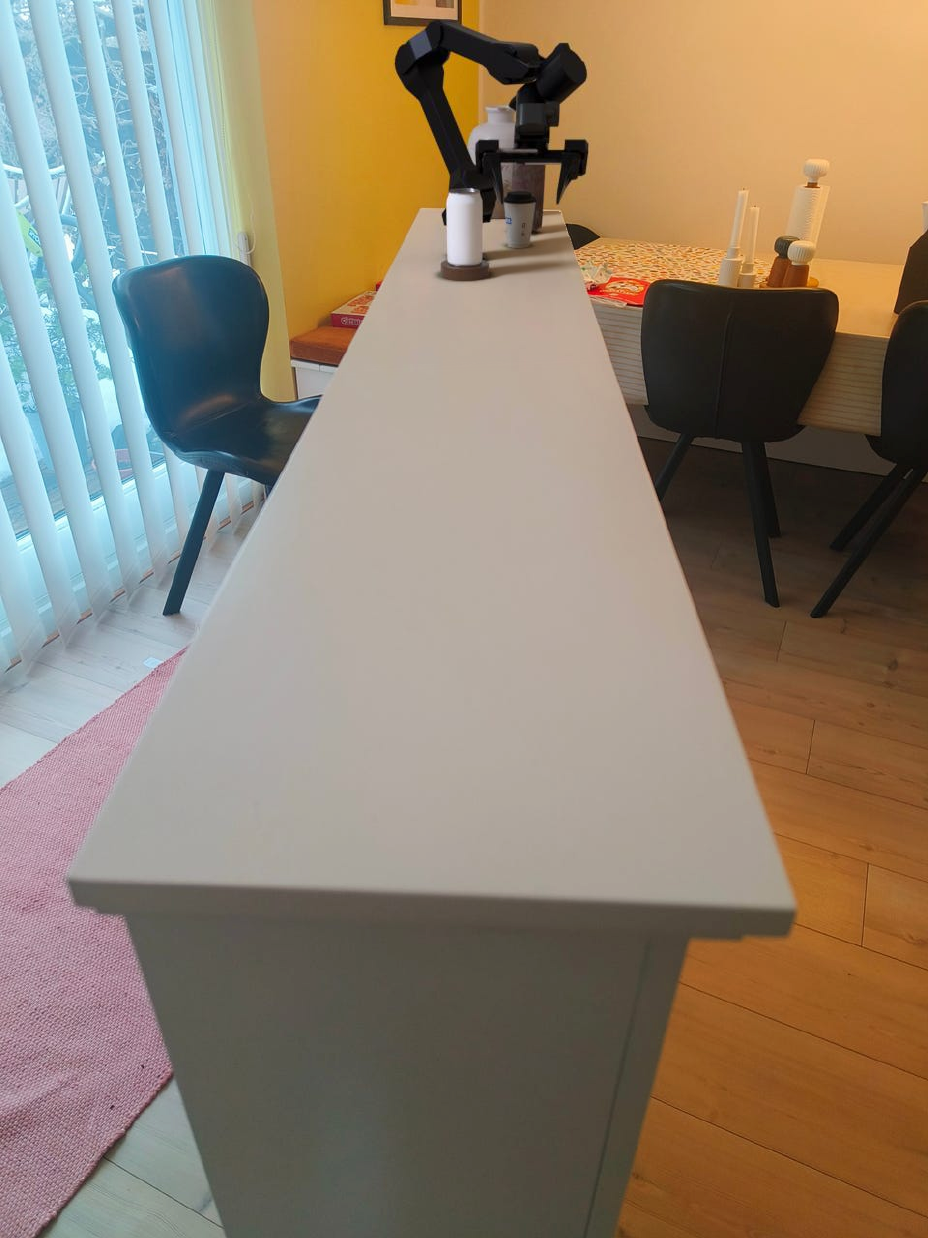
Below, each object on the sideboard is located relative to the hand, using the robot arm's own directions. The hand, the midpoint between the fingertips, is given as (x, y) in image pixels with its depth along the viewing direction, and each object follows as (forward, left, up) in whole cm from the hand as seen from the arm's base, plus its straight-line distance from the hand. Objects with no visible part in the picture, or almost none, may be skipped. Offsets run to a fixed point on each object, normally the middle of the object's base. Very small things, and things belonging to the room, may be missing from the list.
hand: (529, 202), depth 136 cm
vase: (-71, +5, -14) cm, 73 cm away
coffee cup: (-35, +4, -14) cm, 38 cm away
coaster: (-11, -10, -14) cm, 20 cm away
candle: (-49, +8, -14) cm, 52 cm away
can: (-11, -10, -12) cm, 19 cm away
